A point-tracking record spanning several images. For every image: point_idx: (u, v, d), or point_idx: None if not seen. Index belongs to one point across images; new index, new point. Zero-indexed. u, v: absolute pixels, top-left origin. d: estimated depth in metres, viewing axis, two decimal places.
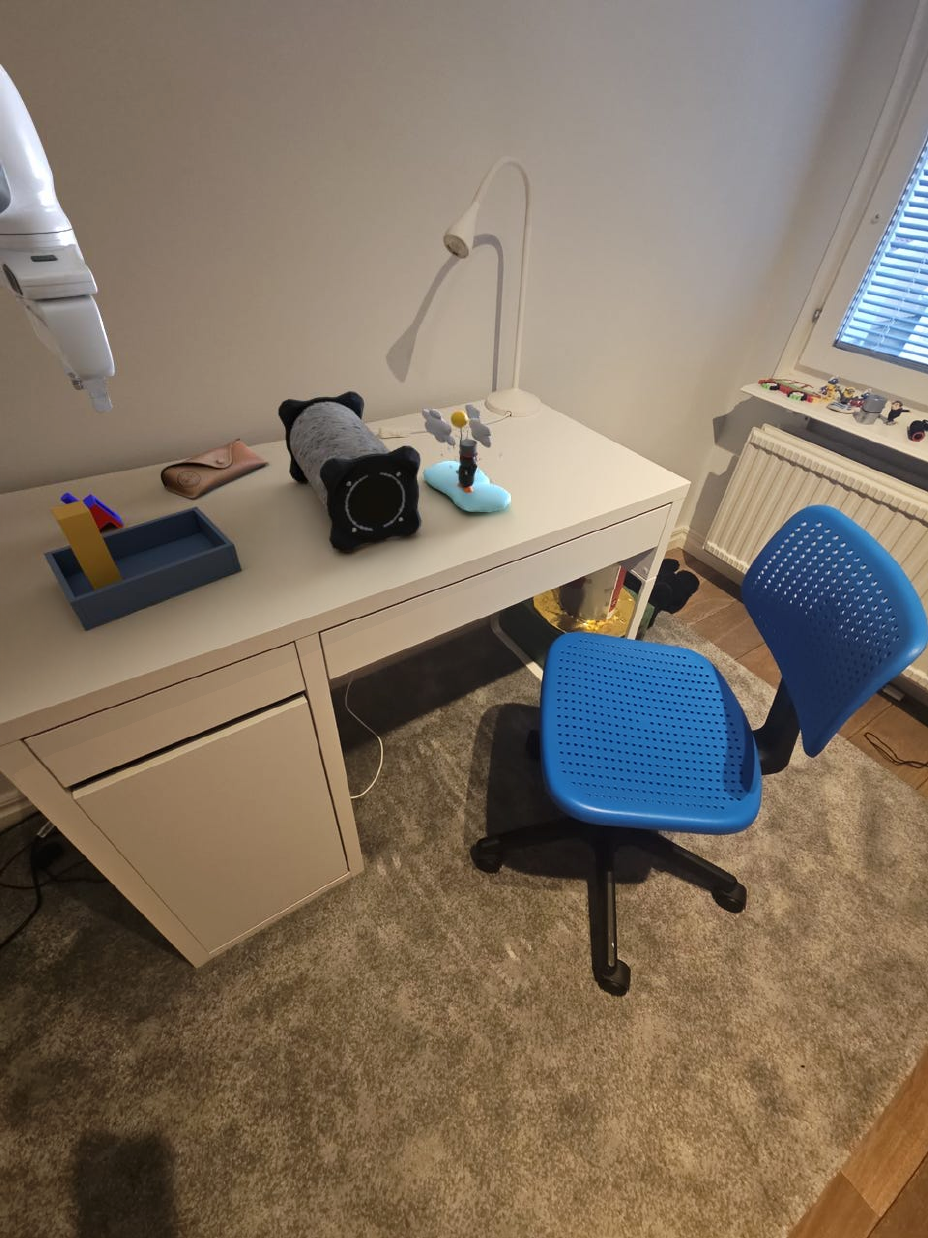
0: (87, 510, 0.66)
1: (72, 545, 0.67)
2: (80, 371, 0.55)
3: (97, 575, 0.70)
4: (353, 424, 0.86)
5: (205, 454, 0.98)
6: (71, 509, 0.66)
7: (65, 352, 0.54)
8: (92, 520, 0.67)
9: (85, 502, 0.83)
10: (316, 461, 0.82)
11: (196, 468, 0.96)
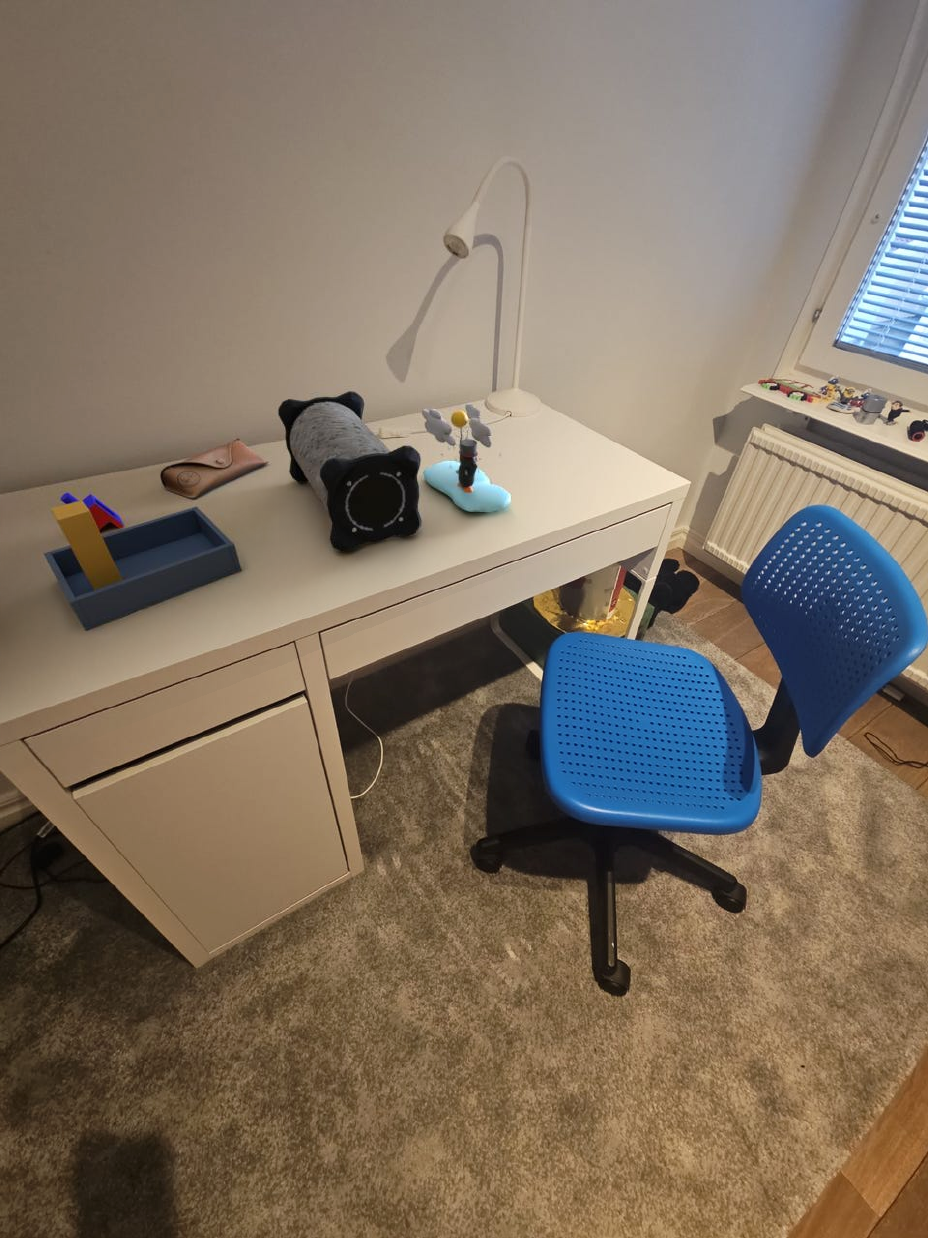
0: (87, 510, 0.66)
1: (72, 545, 0.67)
2: None
3: (97, 575, 0.70)
4: (353, 424, 0.86)
5: (205, 454, 0.98)
6: (71, 509, 0.66)
7: None
8: (92, 520, 0.67)
9: (85, 502, 0.83)
10: (316, 461, 0.82)
11: (196, 467, 0.96)
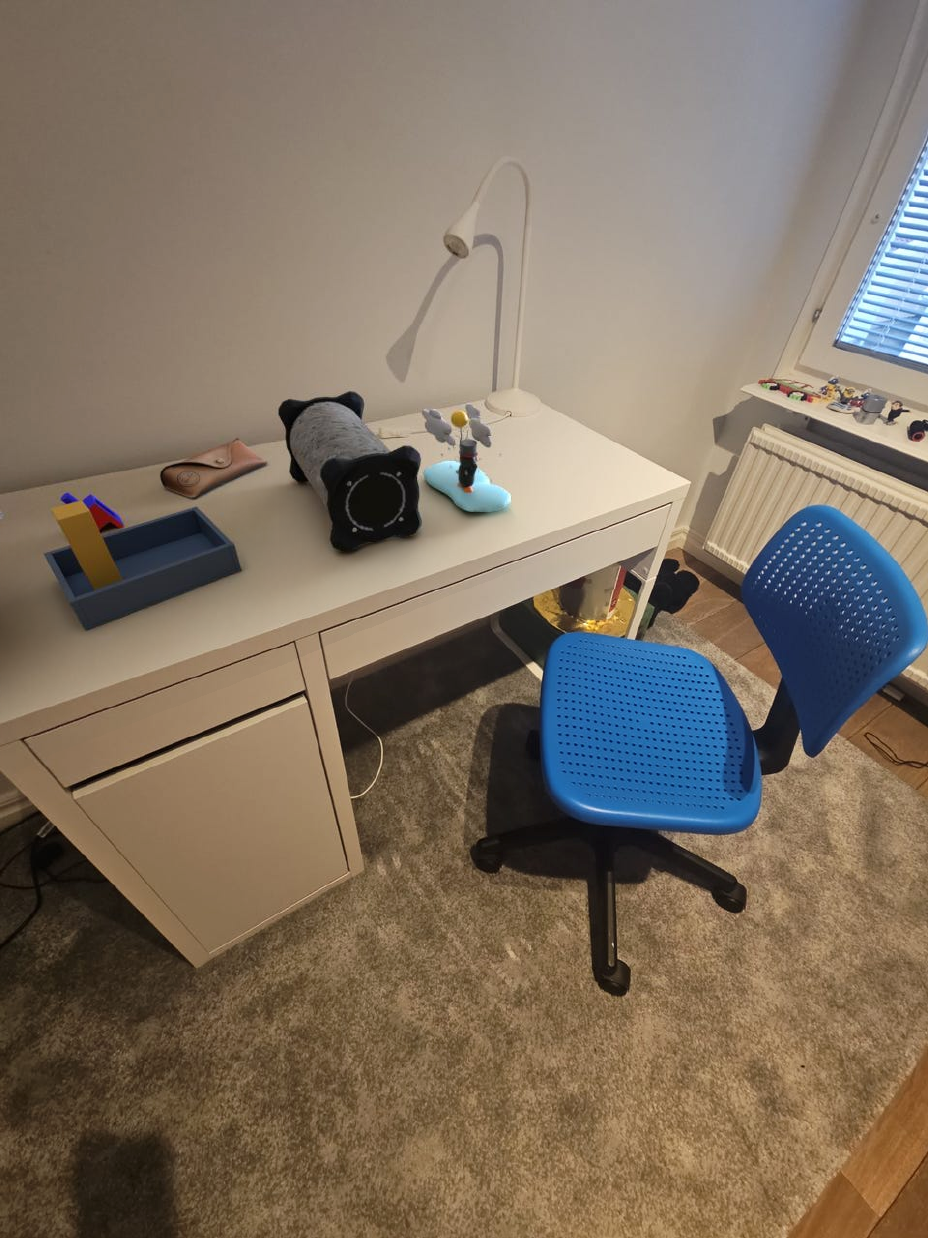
0: (87, 510, 0.66)
1: (72, 545, 0.67)
2: None
3: (97, 575, 0.70)
4: (353, 424, 0.86)
5: (204, 454, 0.98)
6: (71, 509, 0.66)
7: None
8: (92, 520, 0.67)
9: (85, 502, 0.83)
10: (316, 461, 0.82)
11: (196, 467, 0.96)
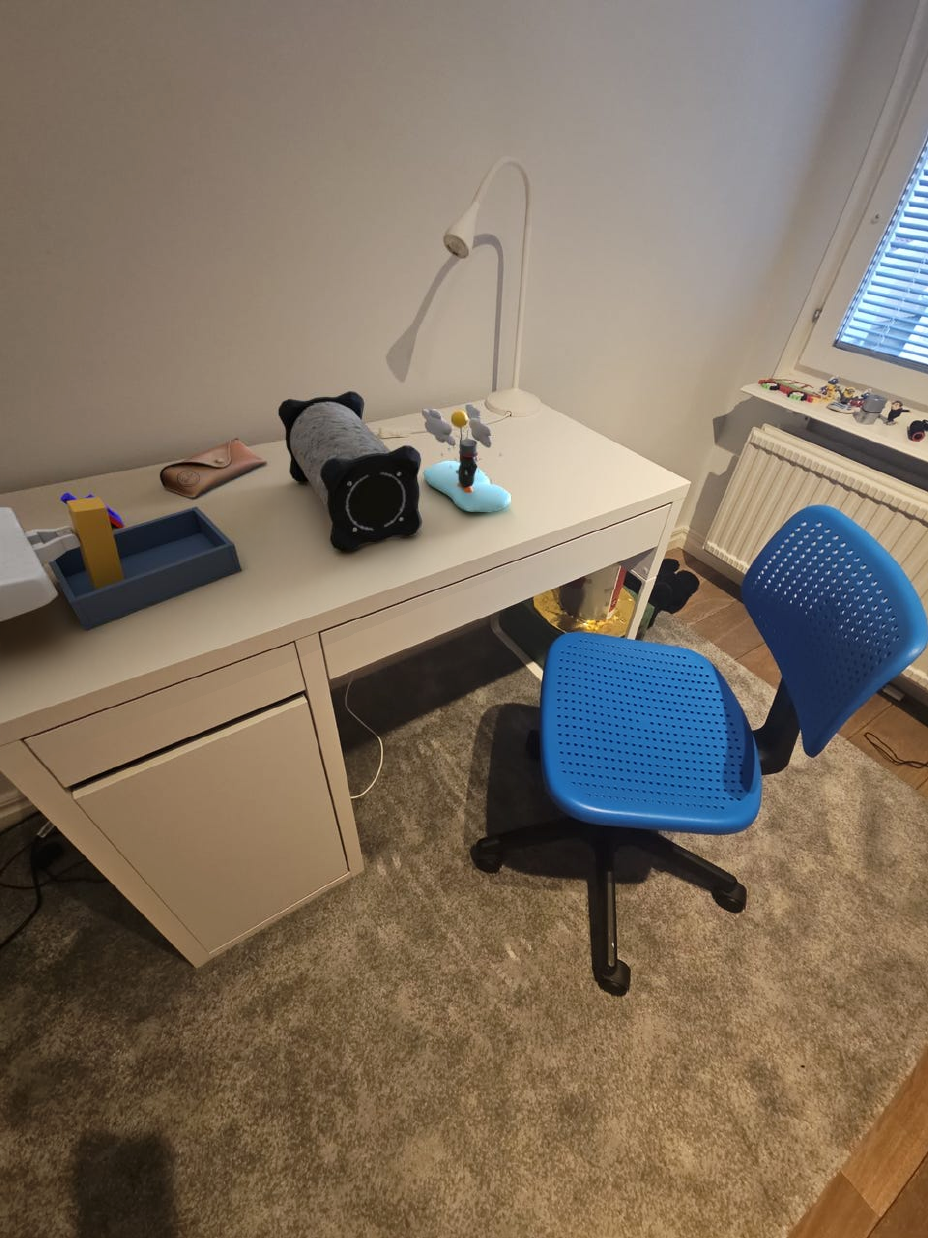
0: (104, 506, 0.67)
1: (82, 538, 0.67)
2: (48, 601, 0.61)
3: (101, 571, 0.70)
4: (353, 424, 0.86)
5: (204, 454, 0.98)
6: (88, 504, 0.67)
7: (31, 610, 0.60)
8: (107, 516, 0.68)
9: None
10: (316, 461, 0.82)
11: (196, 467, 0.96)
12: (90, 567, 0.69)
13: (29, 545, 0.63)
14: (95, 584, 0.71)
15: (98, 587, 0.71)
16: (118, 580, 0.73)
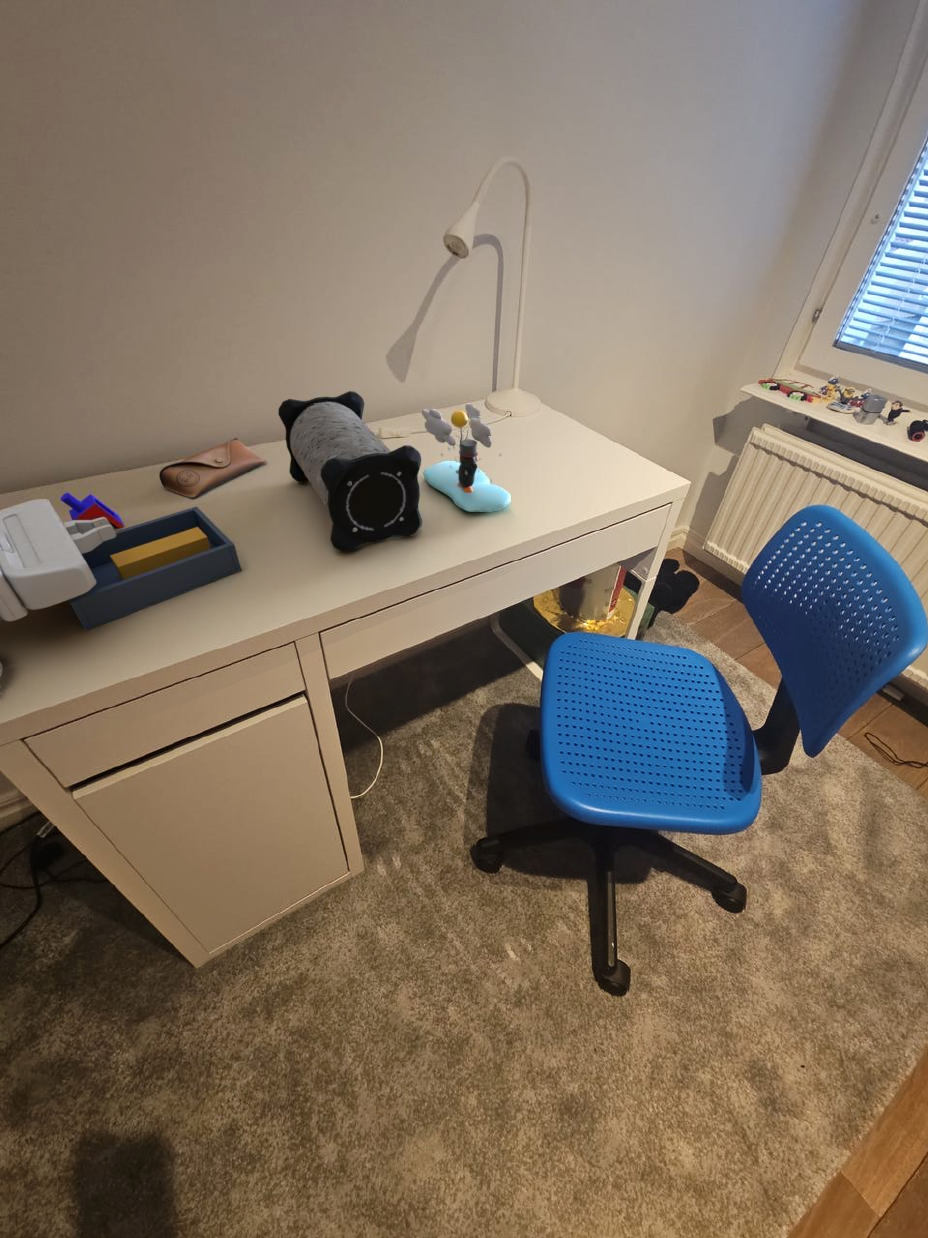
0: None
1: (181, 546, 0.76)
2: (87, 589, 0.62)
3: (146, 564, 0.74)
4: (353, 424, 0.86)
5: (203, 453, 0.98)
6: None
7: (71, 598, 0.62)
8: None
9: (85, 502, 0.83)
10: (317, 461, 0.82)
11: (195, 467, 0.96)
12: (150, 556, 0.74)
13: (68, 535, 0.65)
14: (130, 563, 0.72)
15: (127, 566, 0.72)
16: None
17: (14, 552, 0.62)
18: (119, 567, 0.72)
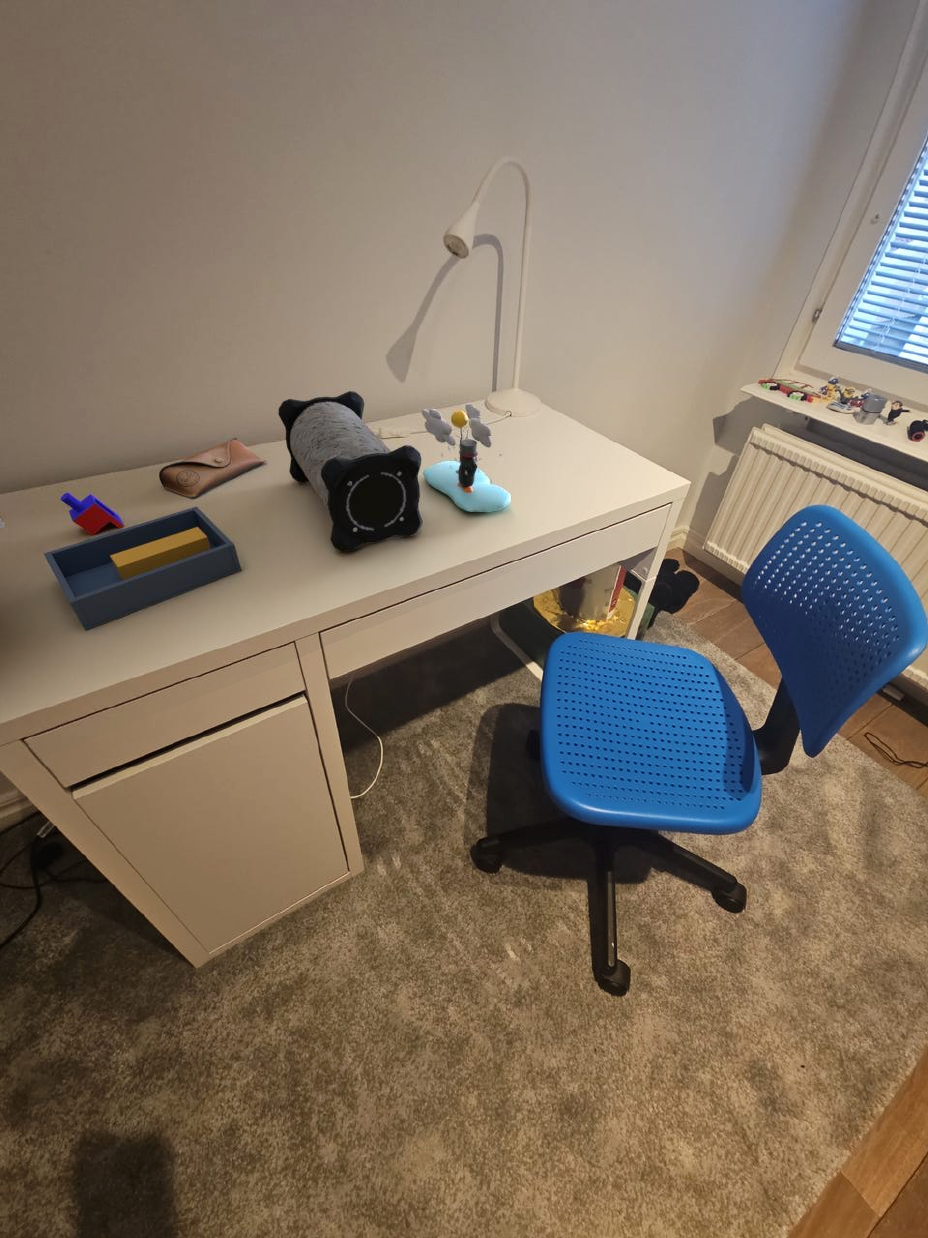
0: None
1: (181, 546, 0.76)
2: None
3: (146, 564, 0.74)
4: (353, 424, 0.86)
5: (203, 453, 0.98)
6: None
7: None
8: None
9: (85, 502, 0.83)
10: (317, 461, 0.82)
11: (195, 467, 0.96)
12: (150, 556, 0.74)
13: None
14: (130, 563, 0.72)
15: (127, 566, 0.72)
16: None
17: None
18: (119, 567, 0.72)
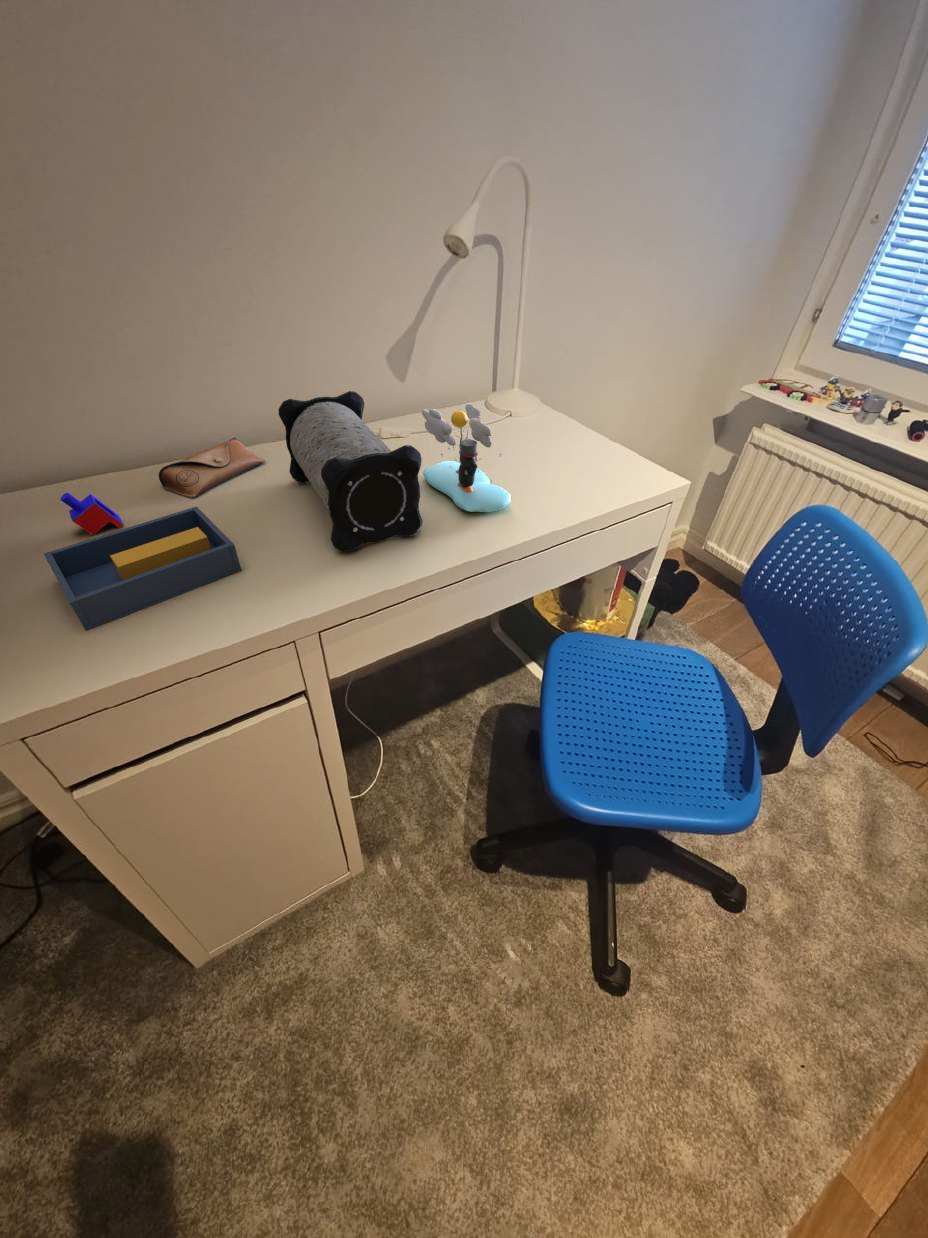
0: None
1: (181, 546, 0.76)
2: None
3: (146, 564, 0.74)
4: (354, 424, 0.86)
5: (202, 453, 0.98)
6: None
7: None
8: None
9: (85, 502, 0.83)
10: (317, 461, 0.82)
11: (195, 467, 0.96)
12: (150, 556, 0.74)
13: None
14: (130, 563, 0.72)
15: (127, 566, 0.72)
16: None
17: None
18: (119, 567, 0.72)
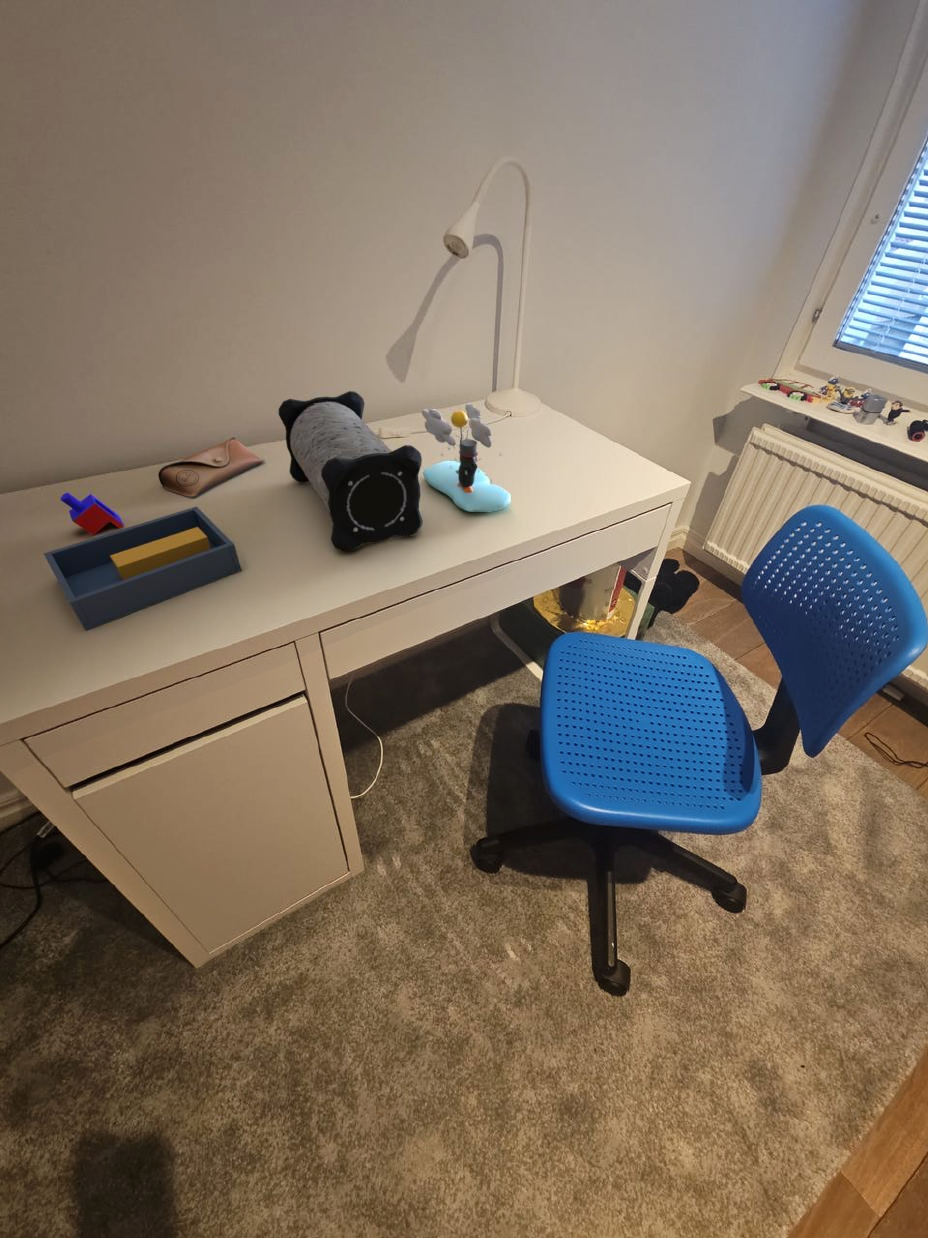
0: None
1: (181, 546, 0.76)
2: None
3: (146, 564, 0.74)
4: (354, 424, 0.86)
5: (202, 453, 0.98)
6: None
7: None
8: None
9: (85, 502, 0.83)
10: (317, 461, 0.82)
11: (194, 467, 0.96)
12: (150, 556, 0.74)
13: None
14: (130, 563, 0.72)
15: (127, 566, 0.72)
16: None
17: None
18: (119, 567, 0.72)
